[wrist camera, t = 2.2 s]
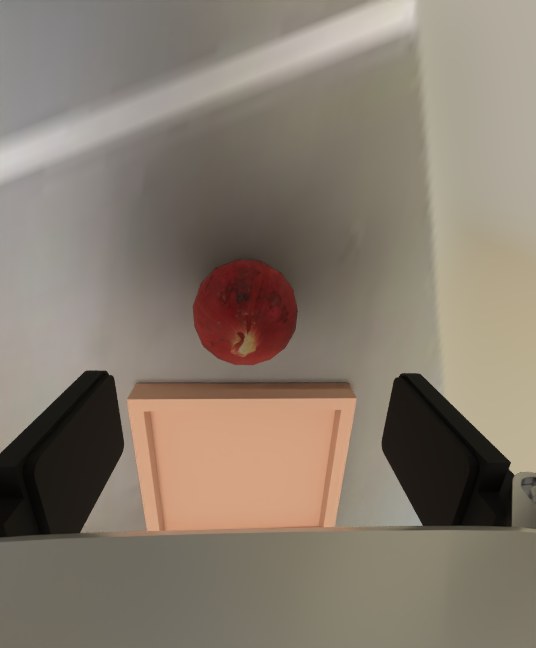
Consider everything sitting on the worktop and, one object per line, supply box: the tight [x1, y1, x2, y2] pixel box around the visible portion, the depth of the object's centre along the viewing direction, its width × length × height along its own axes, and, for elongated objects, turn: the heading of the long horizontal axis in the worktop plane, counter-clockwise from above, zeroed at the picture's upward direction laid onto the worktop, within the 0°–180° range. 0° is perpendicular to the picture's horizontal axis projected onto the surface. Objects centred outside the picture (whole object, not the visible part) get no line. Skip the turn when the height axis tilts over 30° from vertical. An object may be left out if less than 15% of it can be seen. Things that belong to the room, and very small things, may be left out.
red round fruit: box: [193, 259, 298, 365], centre depth 17 cm, size 6×6×8 cm
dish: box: [127, 383, 357, 531], centre depth 25 cm, size 16×16×2 cm
